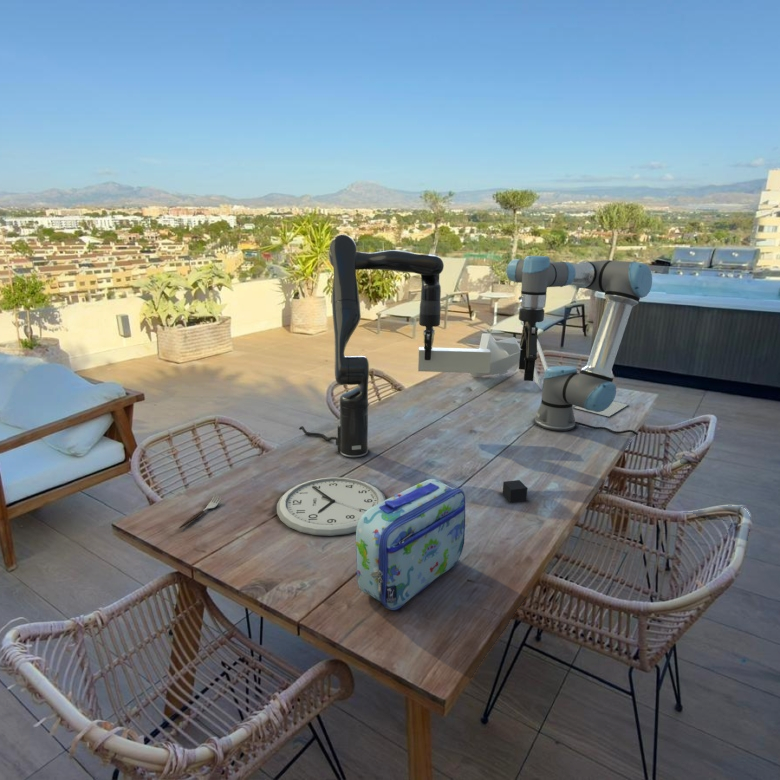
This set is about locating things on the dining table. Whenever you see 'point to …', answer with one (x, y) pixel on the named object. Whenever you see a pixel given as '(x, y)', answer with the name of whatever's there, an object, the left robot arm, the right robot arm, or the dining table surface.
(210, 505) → the fork
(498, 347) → the white plastic object
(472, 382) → the dining table surface
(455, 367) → the bar
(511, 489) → the rubber block
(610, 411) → the invitation card
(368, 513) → the lunch box
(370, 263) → the left robot arm
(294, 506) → the wall clock
